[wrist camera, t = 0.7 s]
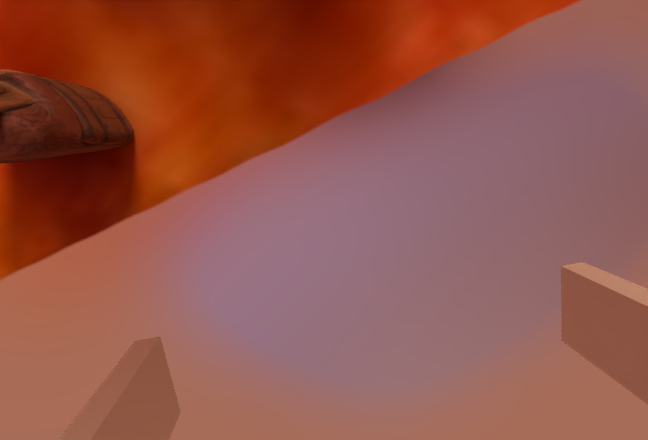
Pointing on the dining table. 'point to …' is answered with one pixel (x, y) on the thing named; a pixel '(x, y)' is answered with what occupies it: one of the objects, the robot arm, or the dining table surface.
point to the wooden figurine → (55, 119)
